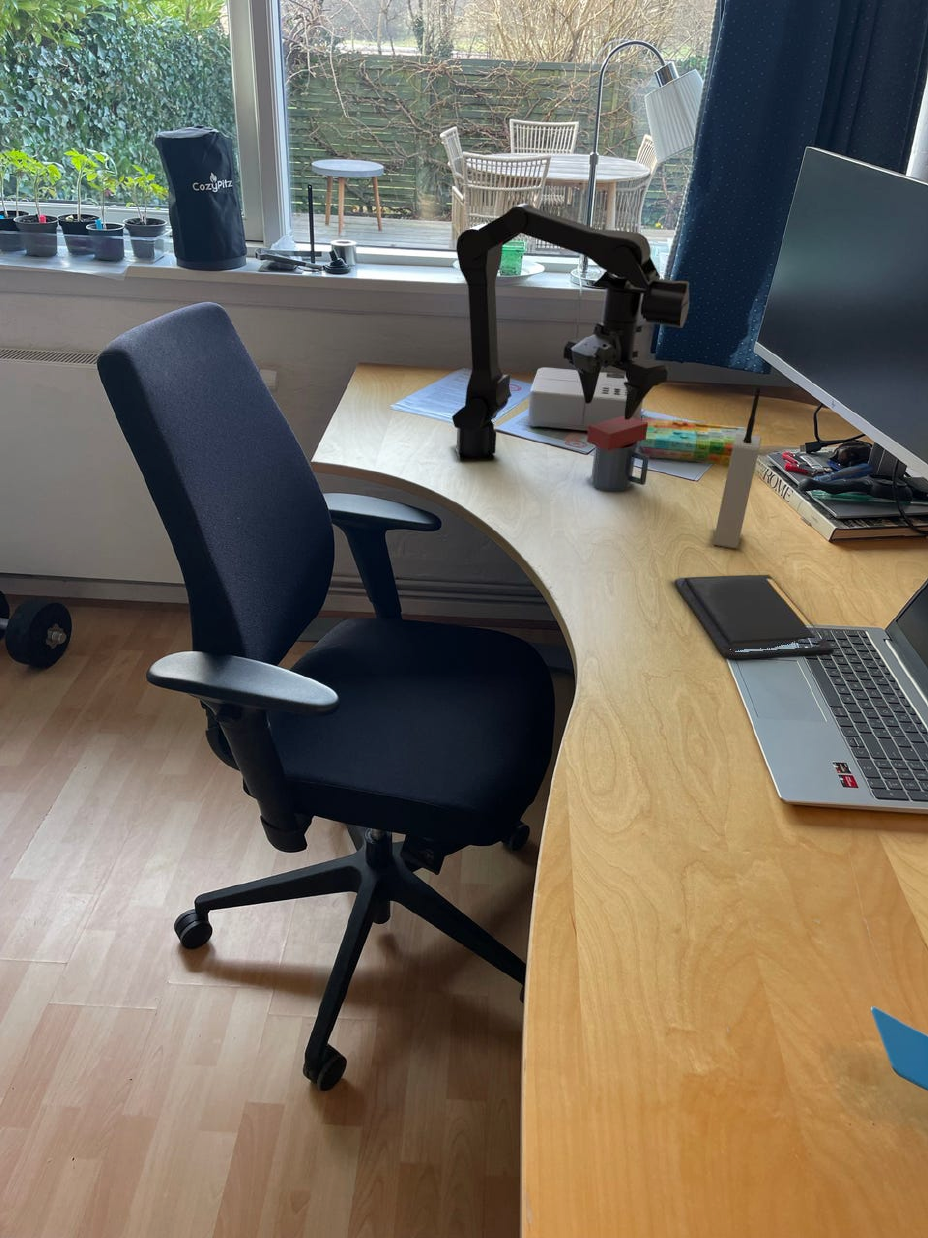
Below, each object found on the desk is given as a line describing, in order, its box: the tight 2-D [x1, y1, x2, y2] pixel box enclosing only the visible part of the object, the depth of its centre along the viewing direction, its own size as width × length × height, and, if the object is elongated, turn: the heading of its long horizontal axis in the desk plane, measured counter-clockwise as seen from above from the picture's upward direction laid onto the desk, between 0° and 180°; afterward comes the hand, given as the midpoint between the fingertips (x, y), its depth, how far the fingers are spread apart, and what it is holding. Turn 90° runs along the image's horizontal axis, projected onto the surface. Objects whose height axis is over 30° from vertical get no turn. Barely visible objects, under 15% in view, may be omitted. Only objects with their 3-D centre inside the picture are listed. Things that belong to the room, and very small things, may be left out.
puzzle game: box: [640, 416, 747, 465], centre depth 175 cm, size 12×5×20 cm
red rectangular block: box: [586, 415, 648, 451], centre depth 158 cm, size 10×5×3 cm, turn 129°
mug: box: [590, 442, 650, 493], centre depth 160 cm, size 10×7×8 cm
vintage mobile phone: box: [712, 386, 762, 550], centre depth 139 cm, size 4×5×25 cm
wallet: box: [673, 574, 834, 660], centre depth 126 cm, size 20×2×15 cm
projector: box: [527, 367, 644, 432], centre depth 188 cm, size 17×22×8 cm
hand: (607, 410), depth 157 cm, fingers open, 9 cm apart
